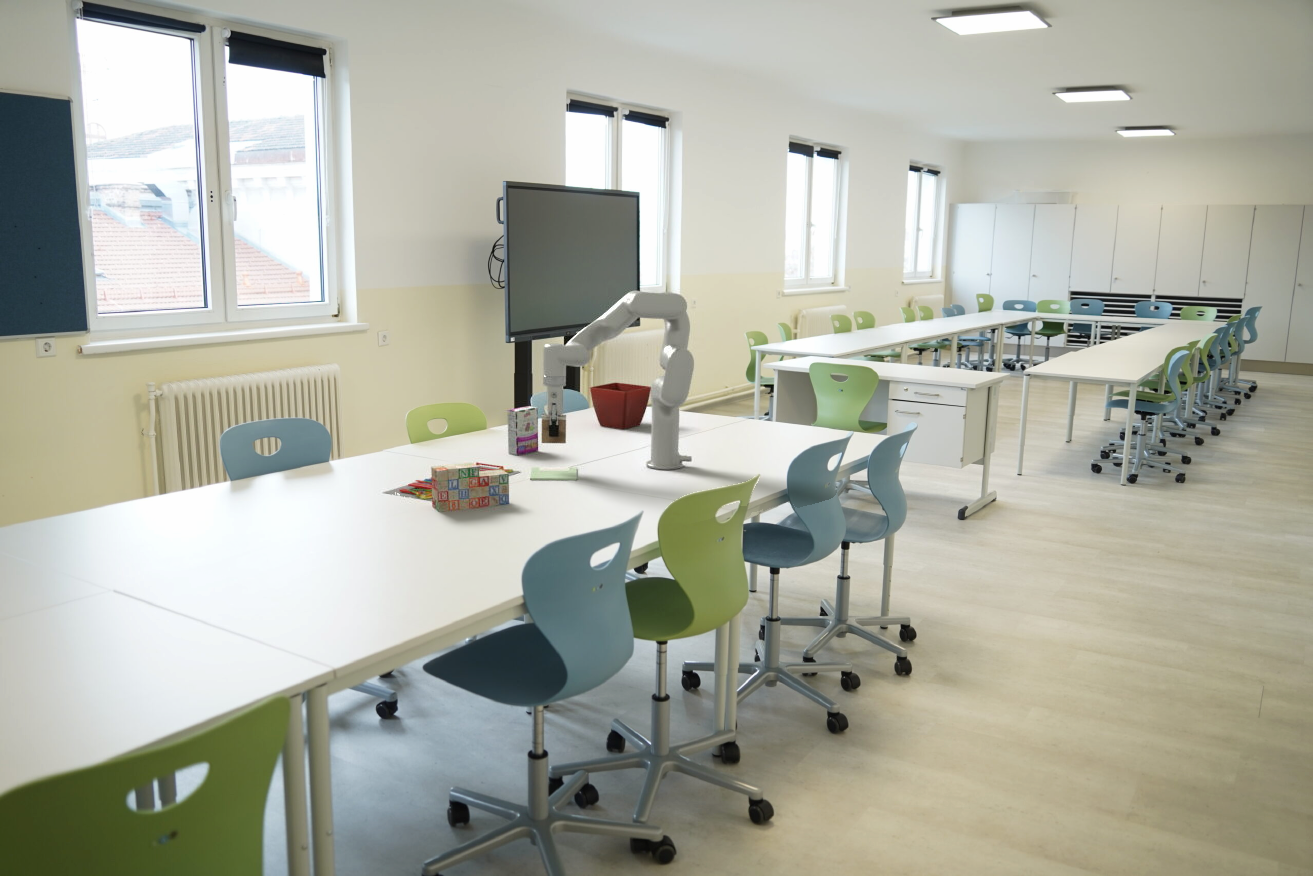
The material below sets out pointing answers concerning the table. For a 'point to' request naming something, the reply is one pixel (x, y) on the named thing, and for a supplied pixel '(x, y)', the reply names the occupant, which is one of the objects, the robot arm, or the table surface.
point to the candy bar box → (522, 430)
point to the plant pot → (620, 404)
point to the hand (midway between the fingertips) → (553, 434)
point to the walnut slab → (545, 429)
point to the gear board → (425, 489)
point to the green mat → (553, 473)
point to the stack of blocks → (467, 487)
